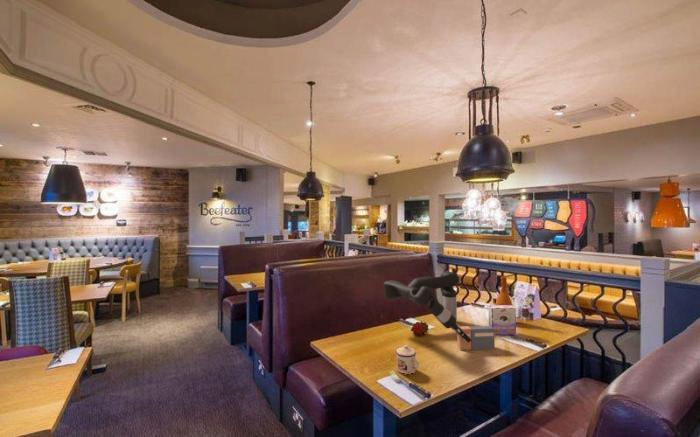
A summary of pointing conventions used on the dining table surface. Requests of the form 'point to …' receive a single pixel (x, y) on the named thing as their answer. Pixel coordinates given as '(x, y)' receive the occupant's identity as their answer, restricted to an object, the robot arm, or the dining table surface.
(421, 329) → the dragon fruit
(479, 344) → the gray block
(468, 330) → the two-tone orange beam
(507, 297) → the brown tapered piece
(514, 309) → the candy box
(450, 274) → the robot arm
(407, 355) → the teacup with lid
